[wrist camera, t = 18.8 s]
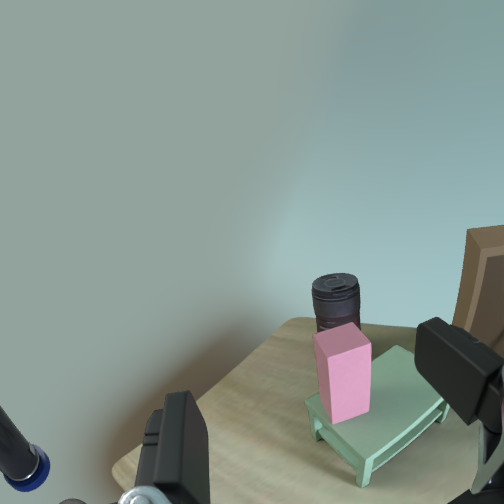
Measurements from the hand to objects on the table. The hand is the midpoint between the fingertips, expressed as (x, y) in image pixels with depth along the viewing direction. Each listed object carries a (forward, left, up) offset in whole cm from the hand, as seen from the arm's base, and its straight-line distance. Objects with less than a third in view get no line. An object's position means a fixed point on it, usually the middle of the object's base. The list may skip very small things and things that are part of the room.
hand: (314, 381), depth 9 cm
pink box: (+10, +13, -20) cm, 26 cm away
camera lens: (+22, +30, -28) cm, 47 cm away
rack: (+15, +11, -28) cm, 34 cm away
